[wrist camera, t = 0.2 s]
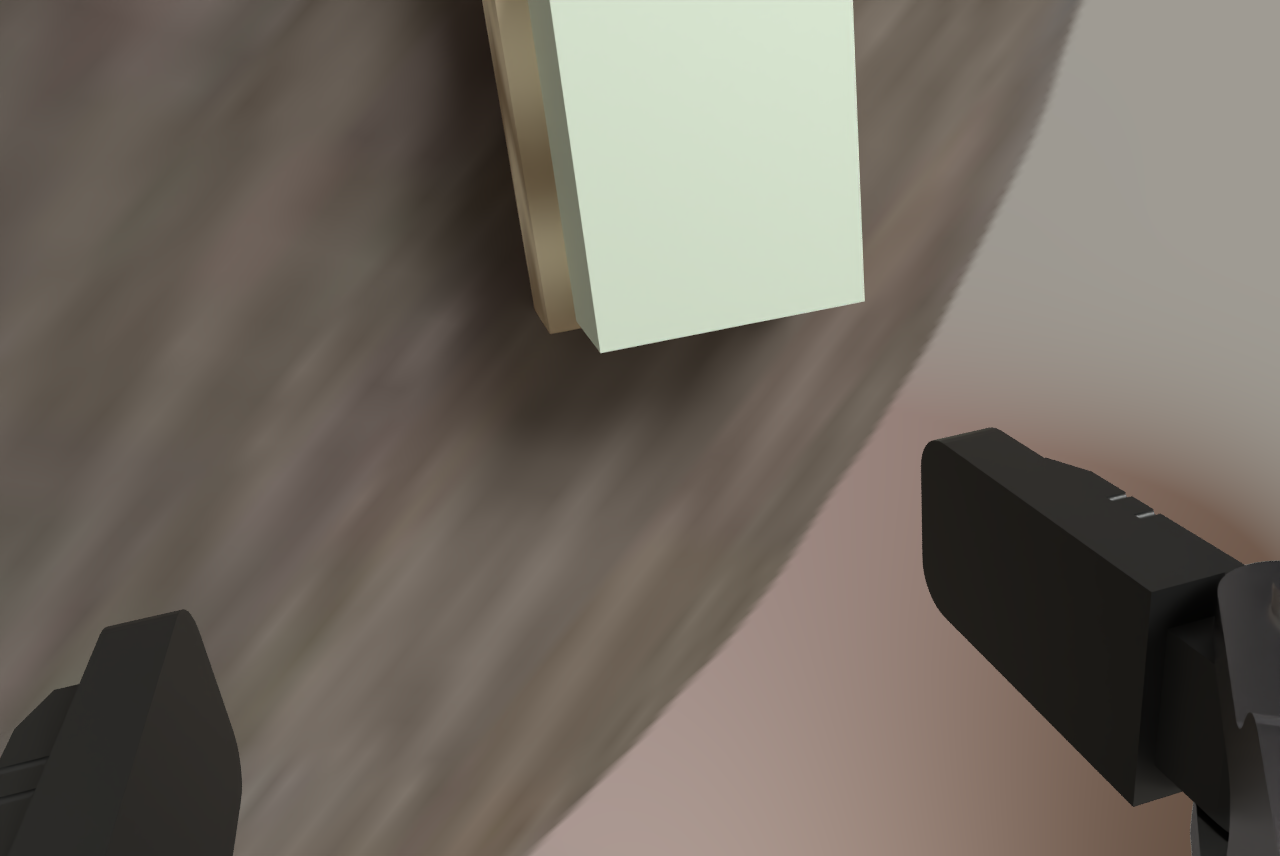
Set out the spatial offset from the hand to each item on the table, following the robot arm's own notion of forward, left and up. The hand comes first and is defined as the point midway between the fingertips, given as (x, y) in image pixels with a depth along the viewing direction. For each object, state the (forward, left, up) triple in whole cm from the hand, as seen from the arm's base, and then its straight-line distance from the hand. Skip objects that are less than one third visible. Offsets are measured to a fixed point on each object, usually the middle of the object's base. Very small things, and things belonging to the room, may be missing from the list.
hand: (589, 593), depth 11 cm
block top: (-2, +9, -25) cm, 26 cm away
